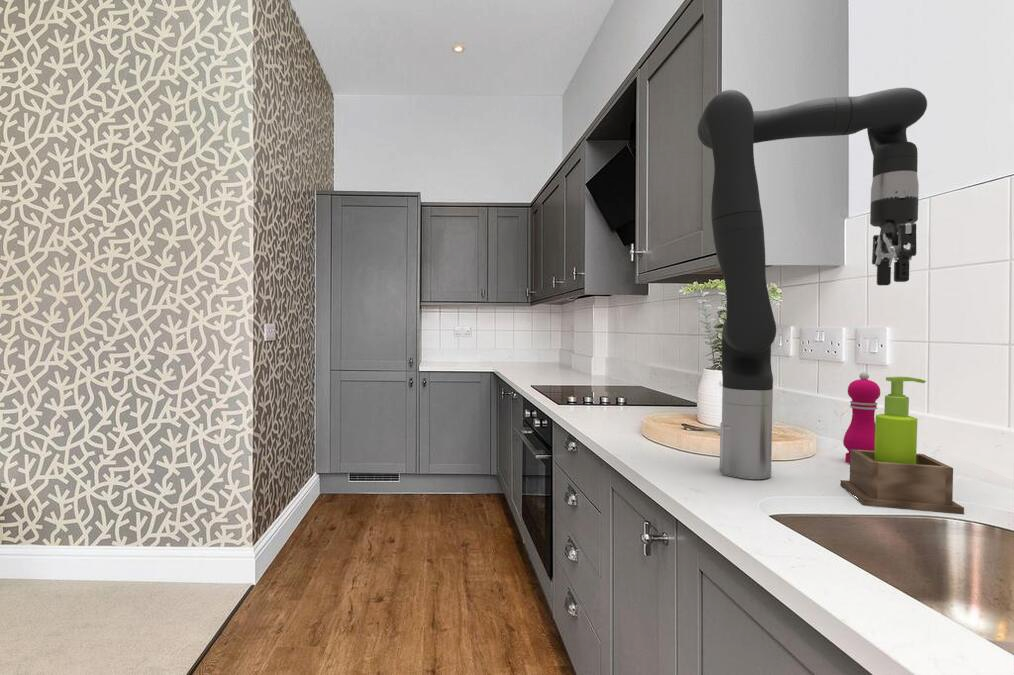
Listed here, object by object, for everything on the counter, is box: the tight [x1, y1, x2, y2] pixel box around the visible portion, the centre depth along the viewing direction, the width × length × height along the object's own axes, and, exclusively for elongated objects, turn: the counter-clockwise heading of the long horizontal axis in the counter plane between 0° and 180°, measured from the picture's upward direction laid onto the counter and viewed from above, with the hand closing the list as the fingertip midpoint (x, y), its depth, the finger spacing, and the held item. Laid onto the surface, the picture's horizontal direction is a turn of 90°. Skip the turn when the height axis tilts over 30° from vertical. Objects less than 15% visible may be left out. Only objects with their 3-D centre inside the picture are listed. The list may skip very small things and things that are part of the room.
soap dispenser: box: [874, 376, 927, 464], centre depth 94 cm, size 6×7×20 cm
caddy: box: [840, 449, 965, 515], centre depth 94 cm, size 14×12×7 cm
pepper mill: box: [842, 371, 881, 465], centre depth 119 cm, size 7×7×20 cm
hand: (892, 283), depth 105 cm, fingers open, 8 cm apart
